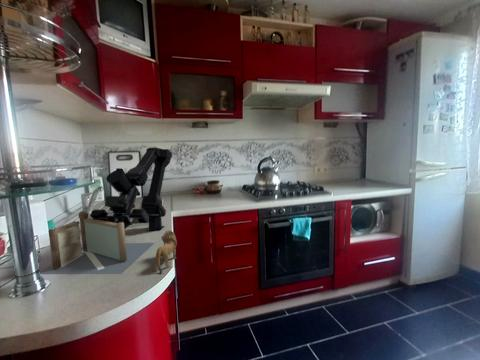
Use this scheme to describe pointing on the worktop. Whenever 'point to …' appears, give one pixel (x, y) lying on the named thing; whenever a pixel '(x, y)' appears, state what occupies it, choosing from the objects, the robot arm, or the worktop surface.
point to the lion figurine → (166, 249)
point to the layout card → (100, 262)
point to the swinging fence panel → (106, 238)
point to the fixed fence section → (67, 242)
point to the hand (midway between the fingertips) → (112, 238)
